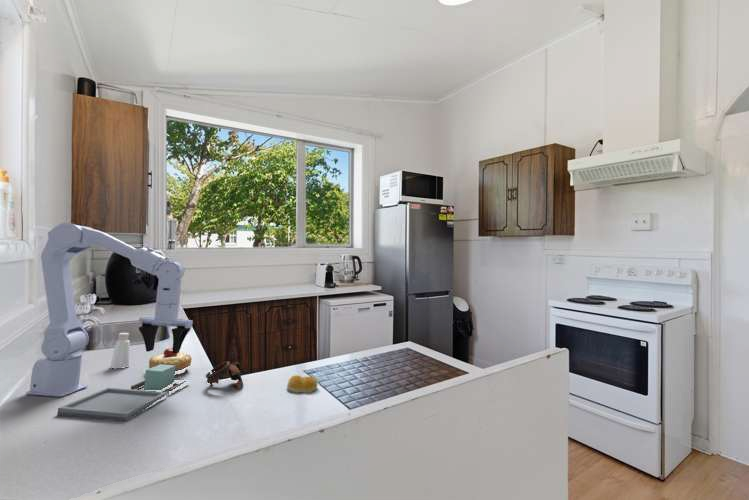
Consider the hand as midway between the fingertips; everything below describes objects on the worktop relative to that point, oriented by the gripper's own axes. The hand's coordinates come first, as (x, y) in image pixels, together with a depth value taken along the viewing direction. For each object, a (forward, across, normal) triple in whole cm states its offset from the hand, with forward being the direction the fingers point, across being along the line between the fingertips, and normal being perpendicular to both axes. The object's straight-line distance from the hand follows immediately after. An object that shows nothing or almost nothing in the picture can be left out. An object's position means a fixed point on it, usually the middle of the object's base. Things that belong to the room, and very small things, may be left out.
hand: (162, 351), depth 98 cm
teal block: (+10, 0, 0) cm, 10 cm away
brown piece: (+11, +16, +7) cm, 21 cm away
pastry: (+11, -7, +15) cm, 20 cm away
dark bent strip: (+10, 0, 0) cm, 10 cm away
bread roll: (+11, +38, +10) cm, 41 cm away
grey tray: (+10, -2, -13) cm, 17 cm away
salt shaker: (+10, -24, +16) cm, 31 cm away
